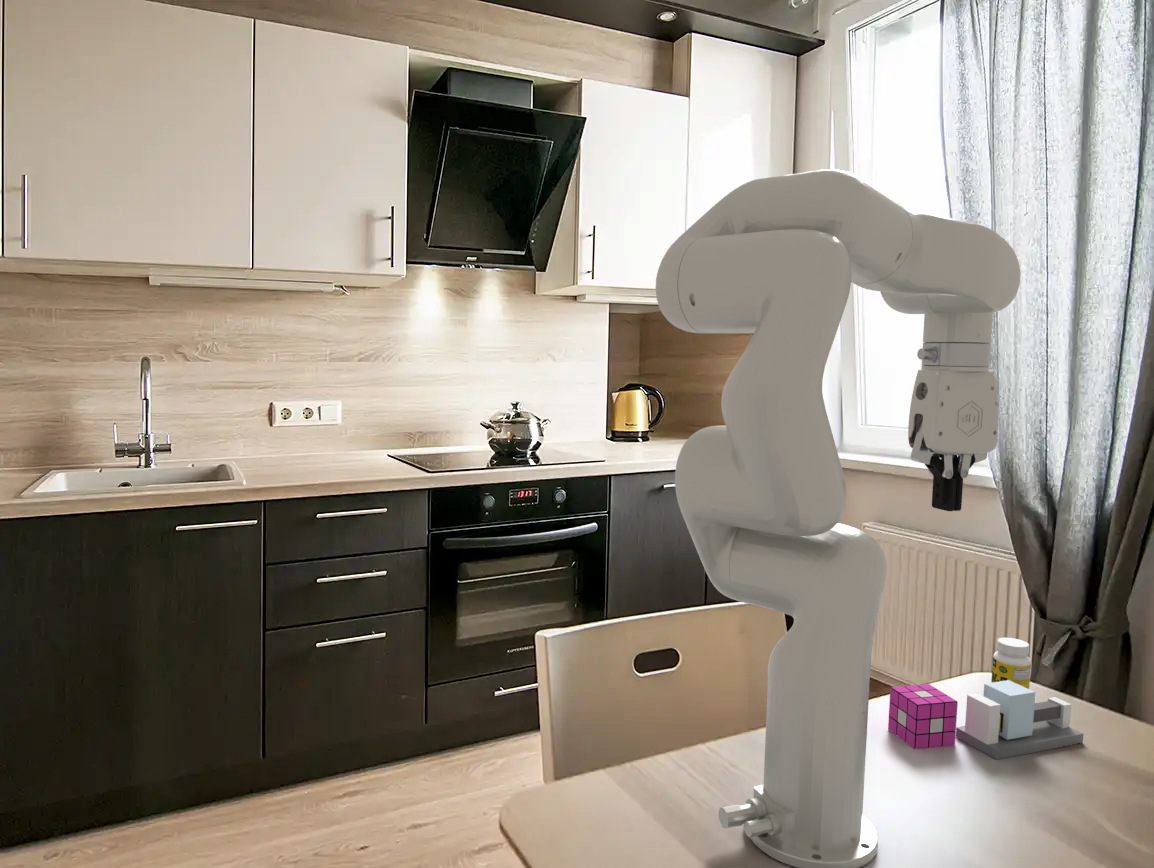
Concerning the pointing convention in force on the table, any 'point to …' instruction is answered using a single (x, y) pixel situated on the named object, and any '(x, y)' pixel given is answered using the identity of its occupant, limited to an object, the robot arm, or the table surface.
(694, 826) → the table surface
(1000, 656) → the supplement bottle
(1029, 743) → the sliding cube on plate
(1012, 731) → the sleeve
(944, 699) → the puzzle toy
